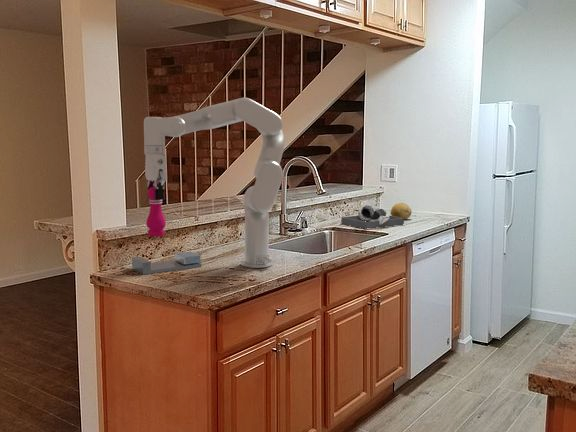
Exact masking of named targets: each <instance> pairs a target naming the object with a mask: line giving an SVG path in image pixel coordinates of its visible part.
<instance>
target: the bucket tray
mask: <svg viewBox="0 0 576 432" xmlns="http://www.w3.org/2000/svg"><path fill="white" fill-rule="evenodd" d="M389 216H390V218H389V220H387V221H386V222H384V223H382V224H381V225H379V223H380V221H371V220H370V219H369V220H367V221H369V222H365V221H362V220H361V219H360V218H359V216H358V215H351V216H342V217H341V219H340V220H341V223H340V224H341V225H343V224H345V225H344V226H348V225H351V226H350V227H352V226H356V227H355V228H357V227H361V228H360V229H362V228H366V229H367V228H375V229H377V228H376V227H383V228H386V227H385V226H392V227H395V226H394V225H400V226H404V225H403V224H404V223H405V219H404V218H400V217H395V216H391V215H389ZM366 229H365V230H366ZM367 230H368V229H367Z"/></svg>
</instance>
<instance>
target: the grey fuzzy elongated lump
mask: <svg viewBox="0 0 576 432" xmlns="http://www.w3.org/2000/svg"><path fill="white" fill-rule="evenodd" d="M357 216H359V218H360V219H361V220H362V221H367V220H369V219H370V220H371V221H380V223H379V225H381V224H382V223H384V222H386V221H387V220H389V218H390V216H391V215H389V214H388V213H387V211H385V209H383V208H379V209H378V208H377V209H375V210H374V208H373V207H372V205H371V206H370V205H364V206H363V207H361V208H360V209H359V210H358V213H357Z"/></svg>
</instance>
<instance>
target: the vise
mask: <svg viewBox="0 0 576 432" xmlns="http://www.w3.org/2000/svg"><path fill="white" fill-rule="evenodd" d="M200 267H201V268H202V267H203V264H202V263H201V262H200V263H192V264H182V263H180V262H178V261H176V260H174V259H173V260H164V261H158V262H157V261H156V262H152V261H150V260H147V259H146V258H144V257H141V256H133V257H131V269H132V270H134V271H135V272H138V273H140V274H141V275H143V276H144V275H151V274H159V273H165V272H166V273H167V272H173V271H181V270H189V269H195V268H200Z"/></svg>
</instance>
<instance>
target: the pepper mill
mask: <svg viewBox="0 0 576 432" xmlns="http://www.w3.org/2000/svg"><path fill="white" fill-rule="evenodd" d="M153 186H154V187H151V188H149V190H148V189H147V191H146V192H147V198H148V197H149V198H148V204H149V213H148V216H147V219H146V224H145V225H146V227H147V228H148V230H147V235H148V237H163V236H165V233H166V231H165V229H164V228H165V227H166V226H167V222H166V218H165V216H164V214H163V210H162V204H163V199H162V200H156V199H155V189H156V186H155V183H153Z"/></svg>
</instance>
